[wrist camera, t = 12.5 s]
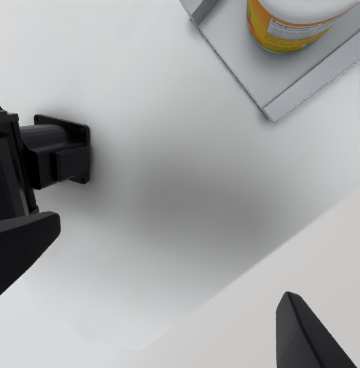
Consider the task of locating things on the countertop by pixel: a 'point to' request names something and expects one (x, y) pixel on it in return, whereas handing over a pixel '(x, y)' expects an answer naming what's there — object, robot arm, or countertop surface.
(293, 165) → the countertop surface
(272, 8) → the supplement bottle
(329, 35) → the tray
